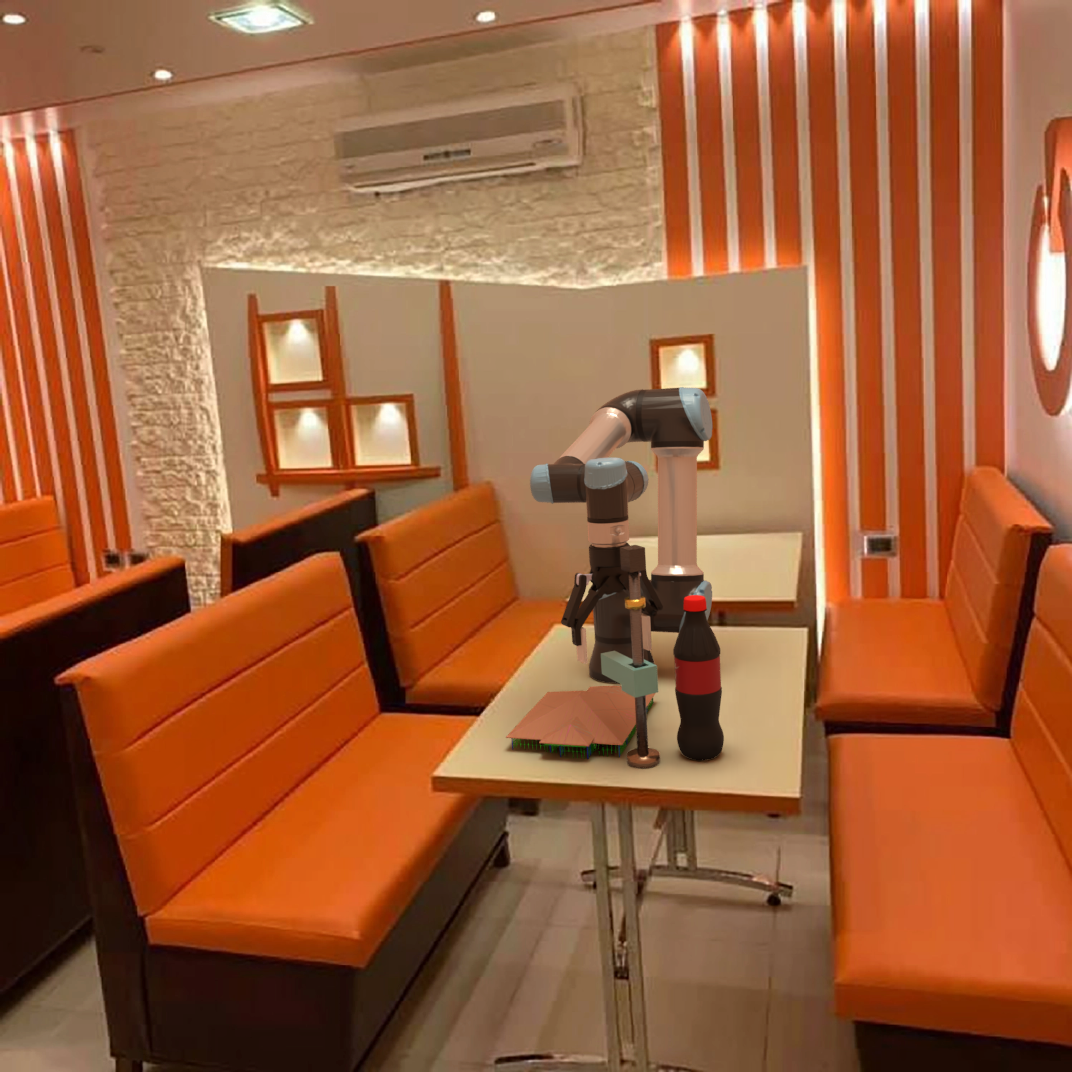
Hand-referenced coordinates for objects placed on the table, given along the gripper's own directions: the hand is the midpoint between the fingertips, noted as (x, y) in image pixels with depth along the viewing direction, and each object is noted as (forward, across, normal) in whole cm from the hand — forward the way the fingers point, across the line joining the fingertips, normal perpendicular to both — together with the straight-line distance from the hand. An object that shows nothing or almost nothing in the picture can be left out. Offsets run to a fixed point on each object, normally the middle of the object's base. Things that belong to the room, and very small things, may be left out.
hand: (614, 655), depth 195 cm
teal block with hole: (+5, 0, -4) cm, 6 cm away
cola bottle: (+18, +11, -11) cm, 24 cm away
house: (+19, -1, +13) cm, 23 cm away
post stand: (+18, 0, -8) cm, 20 cm away
